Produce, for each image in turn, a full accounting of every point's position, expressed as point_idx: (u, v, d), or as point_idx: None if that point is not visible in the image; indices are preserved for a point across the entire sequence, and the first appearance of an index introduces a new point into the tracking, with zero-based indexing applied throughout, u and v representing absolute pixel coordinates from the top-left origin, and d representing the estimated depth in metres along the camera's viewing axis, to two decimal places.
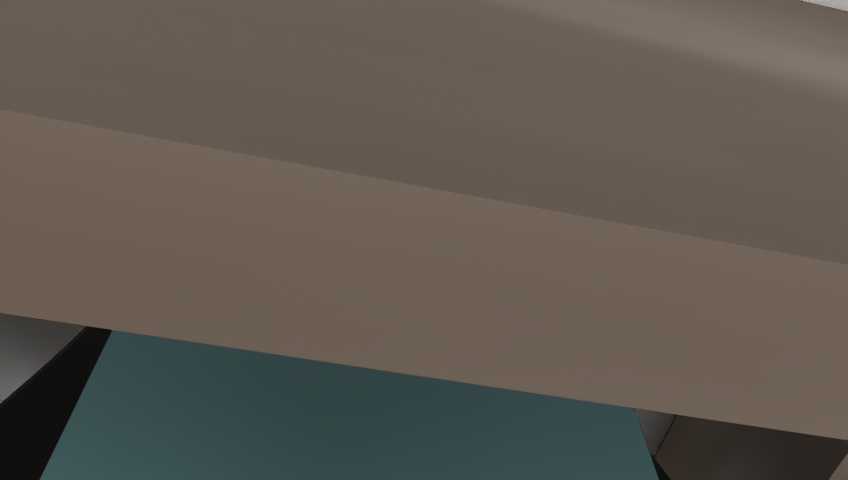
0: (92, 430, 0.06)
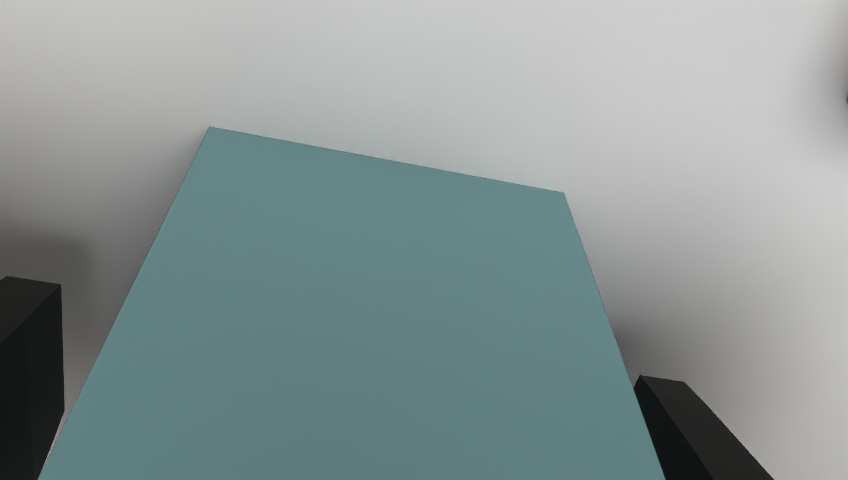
0: (96, 417, 0.06)
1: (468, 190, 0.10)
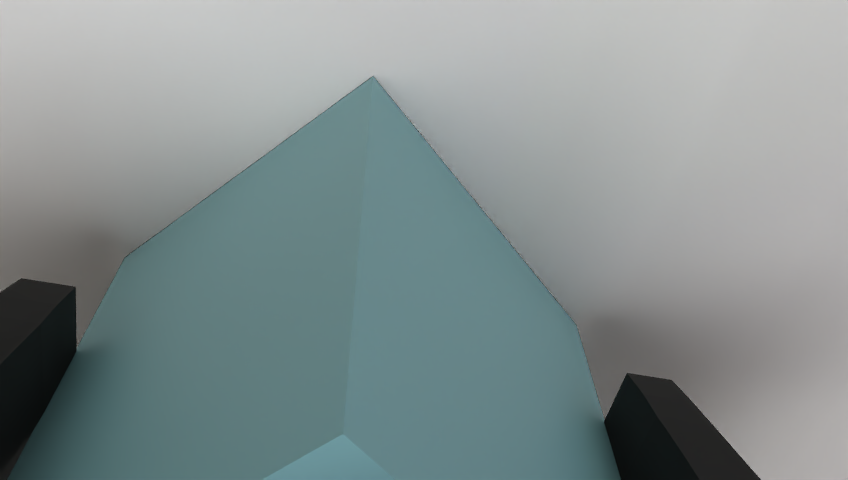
0: None
1: (290, 148, 0.10)
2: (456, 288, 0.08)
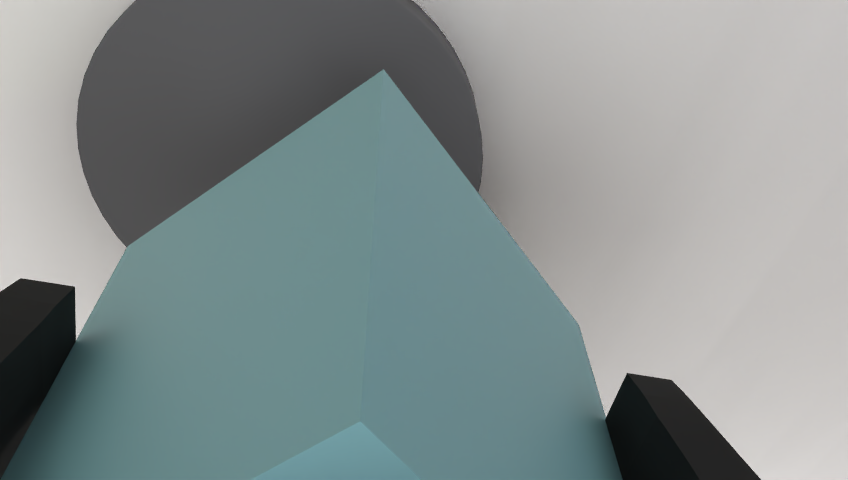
0: None
1: (299, 140, 0.10)
2: (464, 282, 0.08)
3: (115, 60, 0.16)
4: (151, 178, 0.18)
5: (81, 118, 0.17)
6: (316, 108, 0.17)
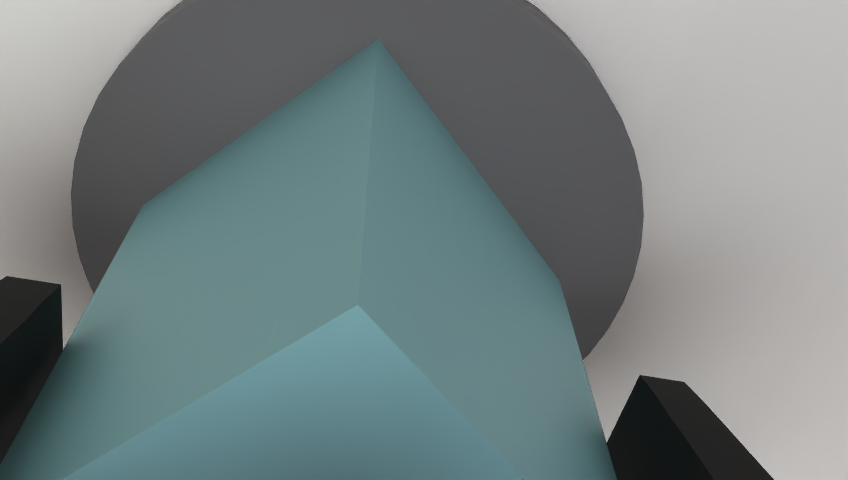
0: (25, 434, 0.08)
1: (301, 102, 0.11)
2: (450, 223, 0.09)
3: (130, 105, 0.11)
4: None
5: (78, 186, 0.12)
6: None
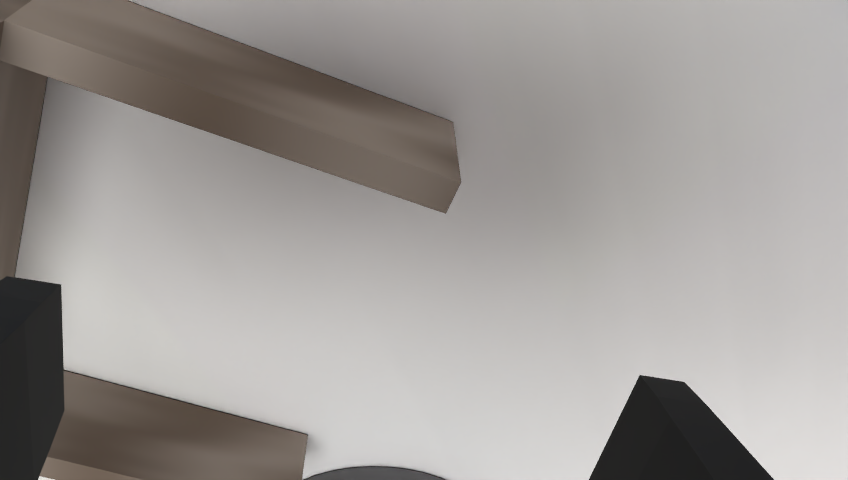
0: None
1: None
2: None
3: None
4: None
5: None
6: None
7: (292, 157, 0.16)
